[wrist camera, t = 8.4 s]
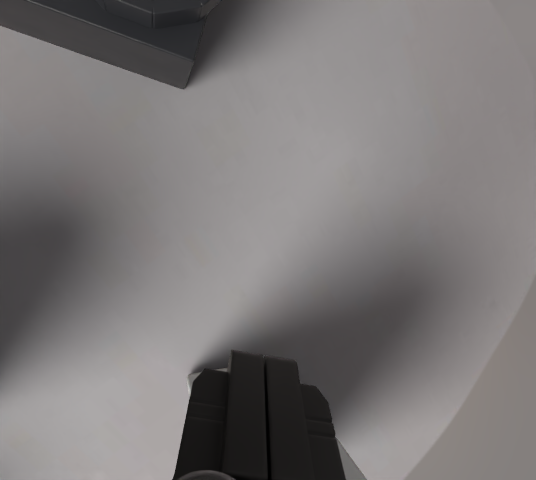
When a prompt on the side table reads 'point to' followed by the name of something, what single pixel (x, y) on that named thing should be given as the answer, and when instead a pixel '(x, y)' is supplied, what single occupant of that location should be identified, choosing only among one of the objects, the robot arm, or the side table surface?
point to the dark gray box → (118, 31)
